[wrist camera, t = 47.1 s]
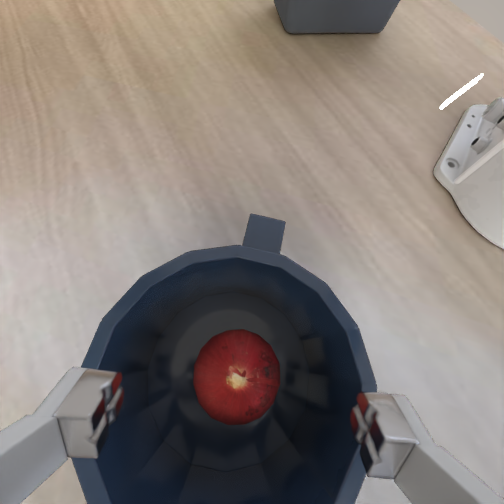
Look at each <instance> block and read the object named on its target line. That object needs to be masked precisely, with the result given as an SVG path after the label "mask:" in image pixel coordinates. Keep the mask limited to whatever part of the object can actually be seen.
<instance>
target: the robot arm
mask: <svg viewBox="0 0 504 504" xmlns="http://www.w3.org/2000/svg"><path fill="white" fill-rule="evenodd" d="M482 76H483V74H482V73H481V74H480V75H479V76H477V77H476V78H475V79H473V80H472V81H471V82H469V83H468V84H467V85H465V86H464V87H463V88H461V89H460V90H459V91H458V92H456V93H455V94H454V95H452V96H451V97H450V98H448V99H447V100H446V101H445V102H444V103H443V104H442V105H441V106H440V108H439V109H441V110H442V109H443V108H444V107H446V106H447V105H448V104H450V103H451V102H452V101H453V100H455V99H456V98H457V97H459V96H460V95H461V94H463V93H464V92H465V91H466V90H468V89H469V88H470V87H472V86H473V85H474V84H476V83H477V82H478V81H479V80H480V79H481V78H482ZM433 173H434V176H435V177H436V179H437V180H438V181H439V182H440V183H441V184H442V185H443V186H444V187H445V188H446V189H447V190H448V191H449V192H450V194H451V195H452V197H453V198H454V200H455V202H456V204H457V206H458V208H459V210H460V211H461V213H462V214H463V216H464V217H465V218H466V220H467V221H468V222H469V223H470V224H471V225H472V227H473V228H474V229H475V230H477V231H478V232H479V233H480V234H481V235H482V236H484V237H485V238H486V239H487V240H489V241H490V242H492V243H493V244H495V245H497V246H498V247H500V248H502V249H504V98H502V97H498V98H497V99H495V100H494V101H493V102H492V103H491V104H490V105H482V104H478V105H472V106H471V107H470V108H468V109H467V110H466V111H465V113H464V114H463V116H462V118H461V120H460V122H459V124H458V125H457V127H456V129H455V131H454V133H453V135H452V137H451V138H450V140H449V142H448V144H447V146H446V148H445V150H444V151H443V153H442V155H441V157H440V159H439V161H438V163H437V164H436V166H435V168H434V171H433ZM122 380H123V378H122V372H118V371H109V370H100V369H91V368H80V367H72V368H71V369H70V370H68V371H67V372H66V373H65V375H64V376H63V377H62V378H61V380H60V381H59V382H58V383H57V385H56V386H55V387H54V388H53V390H52V391H51V392H50V393H49V394H48V396H47V397H46V398H45V399H44V401H43V402H42V403H41V404H40V406H39V407H38V408H37V409H36V411H35V412H34V413H33V414H32V415H26V416H24V417H22V418H21V419H19V420H18V421H16V422H14V423H13V424H11V425H9V426H8V427H6V428H5V429H3V430H1V431H0V504H20V503H21V502H22V501H23V500H24V499H26V498H27V497H28V496H29V495H30V494H31V493H32V492H33V491H34V490H35V489H36V488H37V487H39V486H40V485H41V484H42V483H43V482H44V481H45V480H46V479H47V478H48V477H49V476H50V475H51V474H53V473H54V472H55V471H56V470H57V469H58V468H59V467H60V466H61V465H62V464H63V463H64V462H66V461H67V460H68V458H67V457H72V458H98V457H99V455H100V453H101V451H102V448H103V446H104V444H105V442H106V440H107V438H108V436H109V430H108V426H110V425H111V424H112V423H113V422H115V421H116V420H117V418H118V415H119V413H120V411H121V408H122V405H123V401H124V388H123V387H122V386H121V385H120V383H121V382H122ZM356 400H357V402H358V404H357V405H355V406H354V407H352V410H351V413H350V425H351V430H352V433H353V436H354V438H355V440H356V441H357V442H358V443H359V444H360V445H361V449H360V452H359V453H360V456H361V459H362V462H363V465H364V468H365V470H366V473H367V476H368V477H375V478H385V479H395V480H394V482H395V483H396V484H397V486H398V487H399V488H400V489H401V491H402V492H403V493H404V494H405V496H406V497H407V498H408V499H409V501H410V502H411V503H412V504H504V499H503V498H502V497H501V496H500V495H499V494H497V493H496V492H495V491H494V490H493V489H492V488H490V487H489V486H488V485H487V484H486V483H485V482H483V481H482V480H481V479H480V478H479V477H477V476H476V475H475V474H474V473H473V472H472V471H470V470H469V469H468V468H467V467H466V466H465V465H463V464H462V463H461V462H460V461H459V460H457V459H456V458H455V457H454V456H453V455H452V454H450V453H449V452H448V451H447V450H446V449H445V448H443V447H442V446H437V445H436V443H435V441H434V440H433V438H432V436H431V435H430V433H429V432H428V430H427V428H426V427H425V425H424V424H423V422H422V420H421V419H420V417H419V415H418V414H417V412H416V411H415V409H414V407H413V406H412V404H411V402H410V401H409V399H408V398H407V397H406V396H405V395H399V394H388V393H377V392H362V391H361V392H360V393H358V395H357V398H356Z"/></svg>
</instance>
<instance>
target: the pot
mask: <svg viewBox="0 0 504 504" xmlns="http://www.w3.org/2000/svg"><path fill="white" fill-rule="evenodd" d="M285 223H286V222H285V221H282V220H277V219H273V218H269V217H265V216H260V215H256V214H252V213H251V214H250V217H249V221H248V225H247V229H246V233H245V237H244V240H243V244H242V246H241V245H232V246H225V247H217V248H209V249H202V250H194V251H189V252H186V253H184V254H183V255H181V256H179V257H177V258H175V259H173V260H171V261H169V262H167V263H165V264H164V265H162V266H160V267H158V268H156V269H154V270H152V271H150V272H148V273H146V274H145V275H143V276H142V277H140V278H139V279H138V281H137V282H136V283H135V284H134V285H133V286H132V287H131V288H130V289H129V290H128V291H127V292H126V294H125V295H124V296H123V297H122V298H121V299H120V300H119V301H118V302H117V303H116V304H115V305H114V307H113V308H112V309H111V310H110V311H109V312H108V313H107V314H106V315H105V316H104V317H103V318H102V321H101V322H100V324H99V326H98V329H97V331H96V333H95V336H94V338H93V340H92V343H91V345H90V347H89V350H88V352H87V354H86V356H85V359H84V361H83V363H82V366H81V368H91V369H100V370H109V371H118V372H122V378H123V380H122V382H121V383H120V385H121V386H122V387H123V388H124V401H123V405H122V408H121V411H120V413H119V415H118V418H117V420H116V421H115V422H113V423H112V424H111V425H110V426H108V430H109V436H108V438H107V440H106V442H105V444H104V446H103V448H102V451H101V453H100V455H99V457H98V458H72V457H71V459H72V461H73V464H74V467H75V470H76V473H77V476H78V479H79V482H80V484H81V487H82V490H83V493H84V496H85V499H86V502H87V504H355V501H356V499H357V496H358V494H359V491H360V488H361V486H362V483H363V481H364V478H365V476H366V470H365V468H364V465H363V462H362V459H361V456H360V453H359V452H360V449H361V445H360V444H359V443H358V442H357V441H356V440H355V438H354V436H353V433H352V430H351V425H350V413H351V410H352V407H354V406H355V405H357V404H358V402H357V400H356V398H357V395H358V393H360V392H361V391H362V392H377V384H376V381H375V377H374V374H373V371H372V368H371V365H370V362H369V359H368V355H367V352H366V349H365V346H364V343H363V340H362V336H361V333H360V330H359V328H358V325H357V324H356V323H355V321H354V320H353V319H352V317H351V316H350V314H349V313H348V312H347V310H346V309H345V308H344V306H343V305H342V304H341V302H340V301H339V300H338V298H337V297H336V296H335V294H334V293H333V292H332V290H331V289H330V288H329V286H328V285H327V284H326V283H325V282H324V281H322V280H321V279H319V278H318V277H316V276H315V275H313V274H312V273H310V272H309V271H307V270H306V269H304V268H303V267H301V266H300V265H298V264H297V263H295V262H294V261H292V260H291V259H289V258H288V257H286V256H284V255H280V250H281V244H282V239H283V234H284V228H285ZM238 329H244V330H247V331H250V332H253V333H256V334H258V335H259V336H261V337H262V338H263V339H264V340H265V341H266V342H267V343H269V344H270V345H271V347H272V349H273V351H274V353H275V355H276V357H277V359H278V361H279V364H280V386H279V389H278V392H277V395H276V398H275V400H274V403H273V404H272V406H271V407H270V408H269V409H268V410H267V411H266V412H265V413H264V414H263V416H262V417H261V418H258V419H256V420H254V421H252V422H249V423H247V424H245V425H226V424H224V423H222V422H219V421H217V420H215V419H212V418H211V417H210V416H209V415H208V414H207V413H206V411H205V410H204V409H203V408H202V407H201V405H200V404H199V402H198V398H197V395H196V391H195V388H194V385H193V377H194V364H195V362H196V360H197V357H198V355H199V352H200V350H201V348H202V347H203V346H204V345H205V344H206V343H207V342H208V341H209V340H210V339H211V338H212V337H213V336H215V335H218V334H220V333H222V332H225V331H227V330H238Z"/></svg>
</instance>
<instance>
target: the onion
mask: <svg viewBox="0 0 504 504" xmlns="http://www.w3.org/2000/svg"><path fill="white" fill-rule="evenodd" d="M193 385H194V388H195V391H196V395H197V398H198V402H199V404H200V405H201V407H202V408H203V409H204V410H205V411H206V413H207V414H208V415H209V416H210V417H211V418H212V419H215V420H217V421H219V422H222V423H224V424H226V425H245V424H247V423H249V422H252V421H254V420H256V419H258V418H261V417H262V416H263V414H264V413H265V412H266V411H267V410H268V409H269V408H270V407H271V406H272V404H273V403H274V400H275V398H276V395H277V392H278V389H279V386H280V364H279V361H278V359H277V357H276V355H275V353H274V351H273V349H272V347H271V345H270V344H269V343H267V342H266V341H265V340H264V339H263V338H262V337H261V336H259V335H258V334H256V333H253V332H250V331H247V330H244V329H238V330H227V331H225V332H222V333H220V334H218V335H215V336H213V337H212V338H211V339H210V340H209V341H208V342H207V343H206V344H205V345H204V346H203V347H202V348H201V350H200V352H199V355H198V357H197V360H196V362H195V364H194V377H193Z"/></svg>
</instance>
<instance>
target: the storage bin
mask: <svg viewBox="0 0 504 504" xmlns="http://www.w3.org/2000/svg"><path fill="white" fill-rule="evenodd" d="M399 1H400V0H274V3H275V6H276V8H277V11H278V13H279V16H280V18H281V21H282V24H283V26H284V28H285V30H286V31H287V32H289V33H378V32H381V31H382V30H383V29H384V27H385V25H386V24H387V22H388V20H389V19H390V17H391V15H392V13H393V12H394V10H395V8H396V7H397V5H398V3H399Z"/></svg>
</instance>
